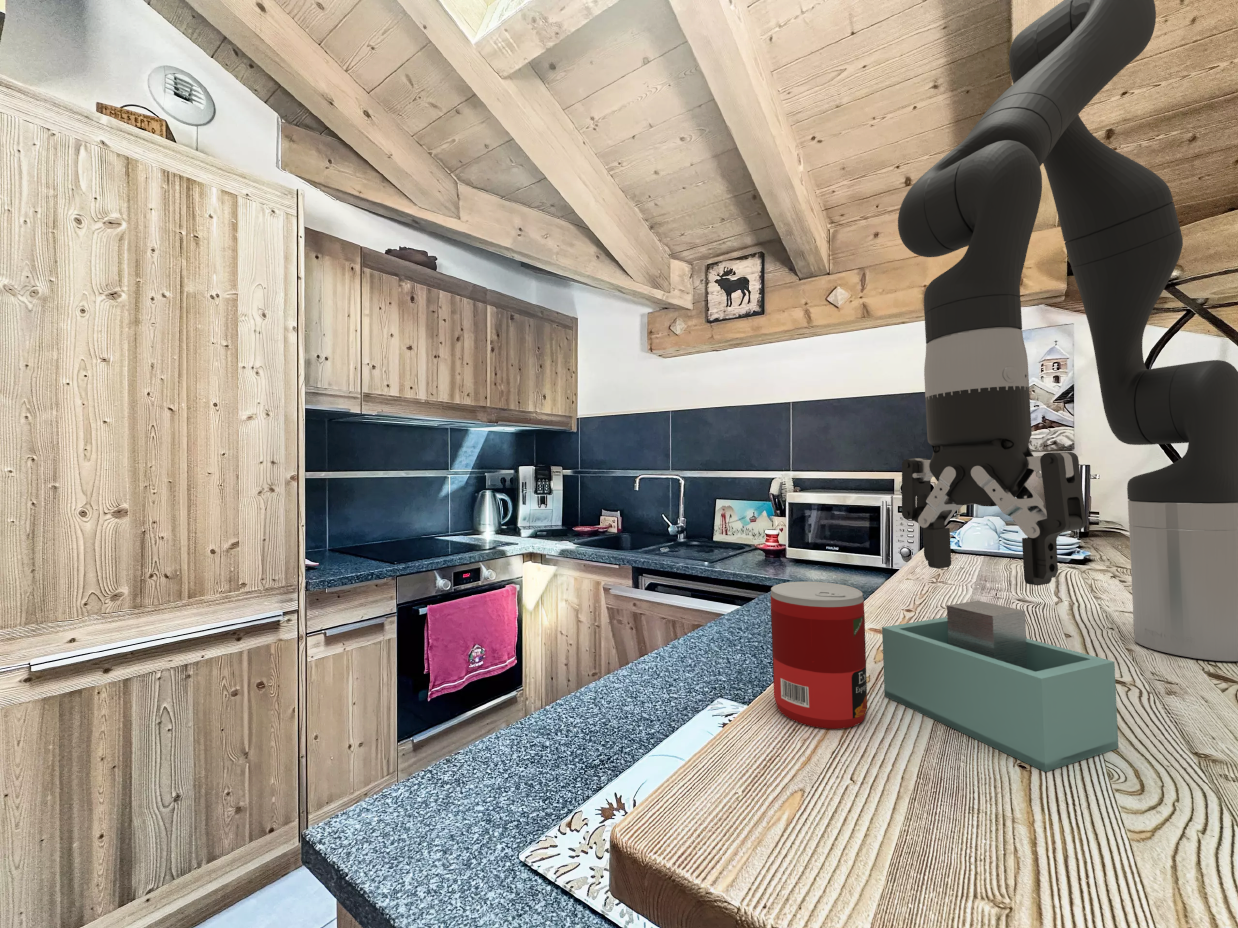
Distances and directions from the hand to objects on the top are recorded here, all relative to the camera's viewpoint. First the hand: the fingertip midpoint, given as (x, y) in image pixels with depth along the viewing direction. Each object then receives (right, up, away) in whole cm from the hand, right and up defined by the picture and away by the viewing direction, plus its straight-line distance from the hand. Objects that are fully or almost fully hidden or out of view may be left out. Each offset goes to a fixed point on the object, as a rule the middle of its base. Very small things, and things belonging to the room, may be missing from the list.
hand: (984, 574), depth 46 cm
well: (0, -12, 0) cm, 12 cm away
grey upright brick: (0, -12, 0) cm, 12 cm away
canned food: (-14, -13, +2) cm, 19 cm away
